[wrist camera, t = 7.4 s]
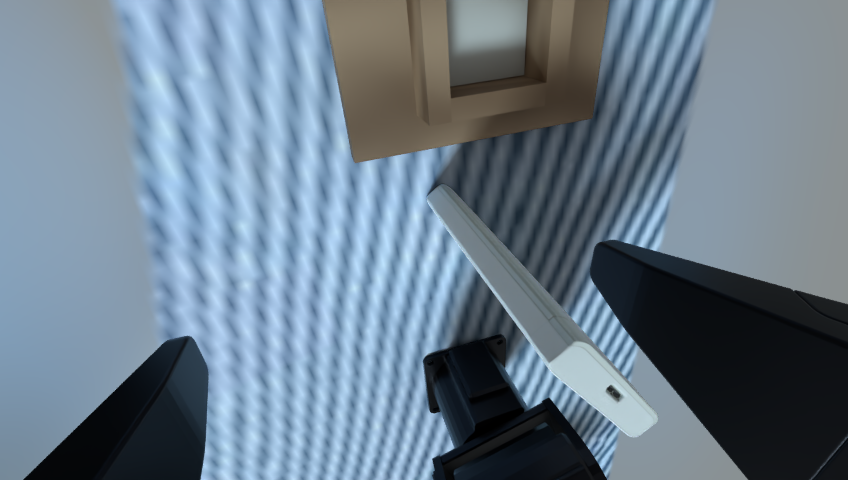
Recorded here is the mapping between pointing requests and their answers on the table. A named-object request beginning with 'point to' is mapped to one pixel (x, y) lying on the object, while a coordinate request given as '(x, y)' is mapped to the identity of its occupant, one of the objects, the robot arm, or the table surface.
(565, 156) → the table surface
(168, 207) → the table surface
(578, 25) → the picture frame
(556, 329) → the external hard drive
